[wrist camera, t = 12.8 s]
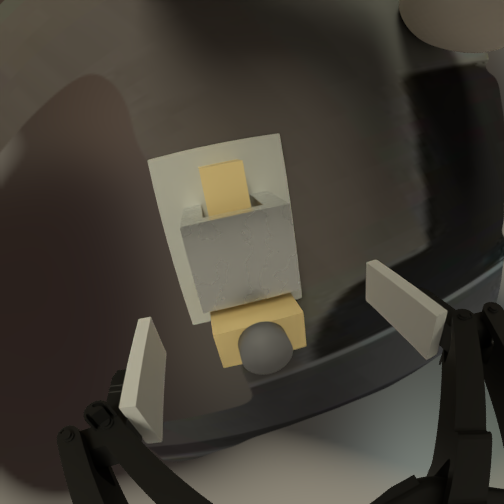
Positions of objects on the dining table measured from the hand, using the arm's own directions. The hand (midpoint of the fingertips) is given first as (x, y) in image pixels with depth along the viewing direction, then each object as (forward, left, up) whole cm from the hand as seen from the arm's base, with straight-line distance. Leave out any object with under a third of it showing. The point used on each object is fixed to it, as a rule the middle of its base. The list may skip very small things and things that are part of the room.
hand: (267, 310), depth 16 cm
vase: (-27, +32, -17) cm, 45 cm away
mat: (0, 0, -17) cm, 17 cm away
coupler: (0, 0, -17) cm, 17 cm away
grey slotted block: (0, 0, -16) cm, 16 cm away
